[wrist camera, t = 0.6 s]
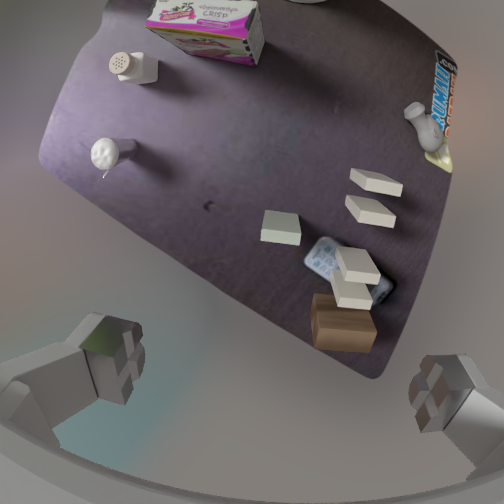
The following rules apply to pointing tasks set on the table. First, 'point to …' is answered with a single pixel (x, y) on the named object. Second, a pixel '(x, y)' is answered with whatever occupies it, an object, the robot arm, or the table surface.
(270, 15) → the table surface
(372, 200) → the domino
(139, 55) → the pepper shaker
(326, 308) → the end block
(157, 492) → the robot arm
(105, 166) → the milkshake
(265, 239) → the domino
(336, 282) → the domino
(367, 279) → the domino
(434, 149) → the smooth white sculpture
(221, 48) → the candy bar box
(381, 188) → the domino
